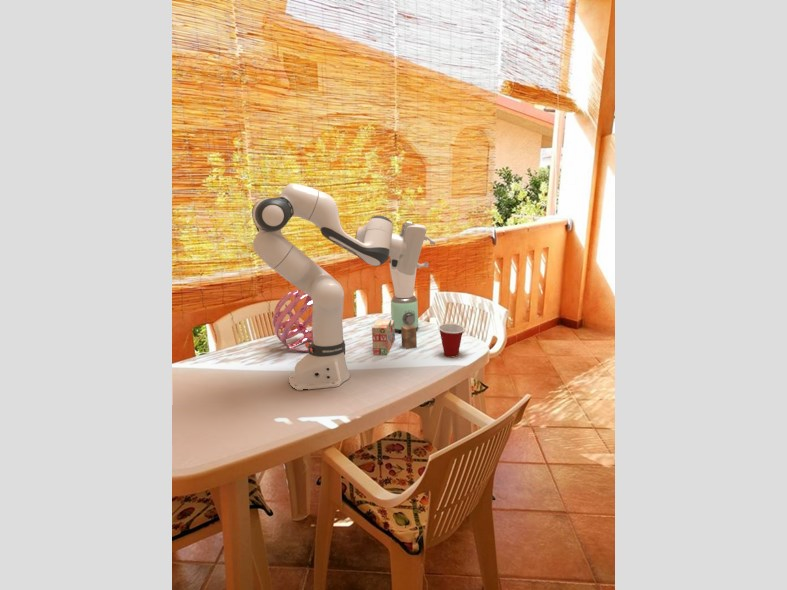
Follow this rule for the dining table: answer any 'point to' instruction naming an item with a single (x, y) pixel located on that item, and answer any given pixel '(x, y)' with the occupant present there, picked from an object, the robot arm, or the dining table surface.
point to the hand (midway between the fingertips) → (431, 254)
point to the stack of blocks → (383, 336)
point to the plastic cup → (451, 338)
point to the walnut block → (409, 337)
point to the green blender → (403, 300)
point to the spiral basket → (293, 319)
